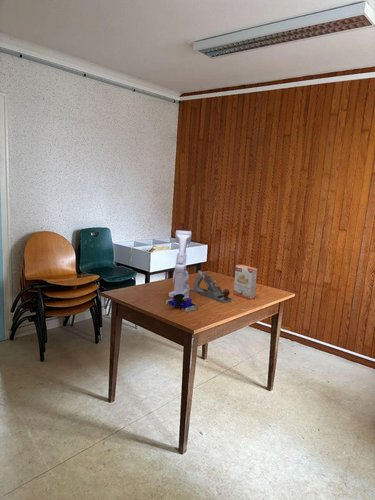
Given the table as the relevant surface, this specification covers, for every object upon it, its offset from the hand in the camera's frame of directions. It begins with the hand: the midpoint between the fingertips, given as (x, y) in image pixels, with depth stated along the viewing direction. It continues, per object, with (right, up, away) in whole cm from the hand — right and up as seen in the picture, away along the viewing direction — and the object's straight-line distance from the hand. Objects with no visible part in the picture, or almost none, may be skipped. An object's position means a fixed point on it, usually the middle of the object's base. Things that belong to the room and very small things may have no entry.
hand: (178, 306), depth 218 cm
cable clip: (+2, -1, +3) cm, 3 cm away
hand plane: (+21, +2, +30) cm, 37 cm away
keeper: (+2, -1, +2) cm, 3 cm away
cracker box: (+44, +1, +33) cm, 55 cm away
